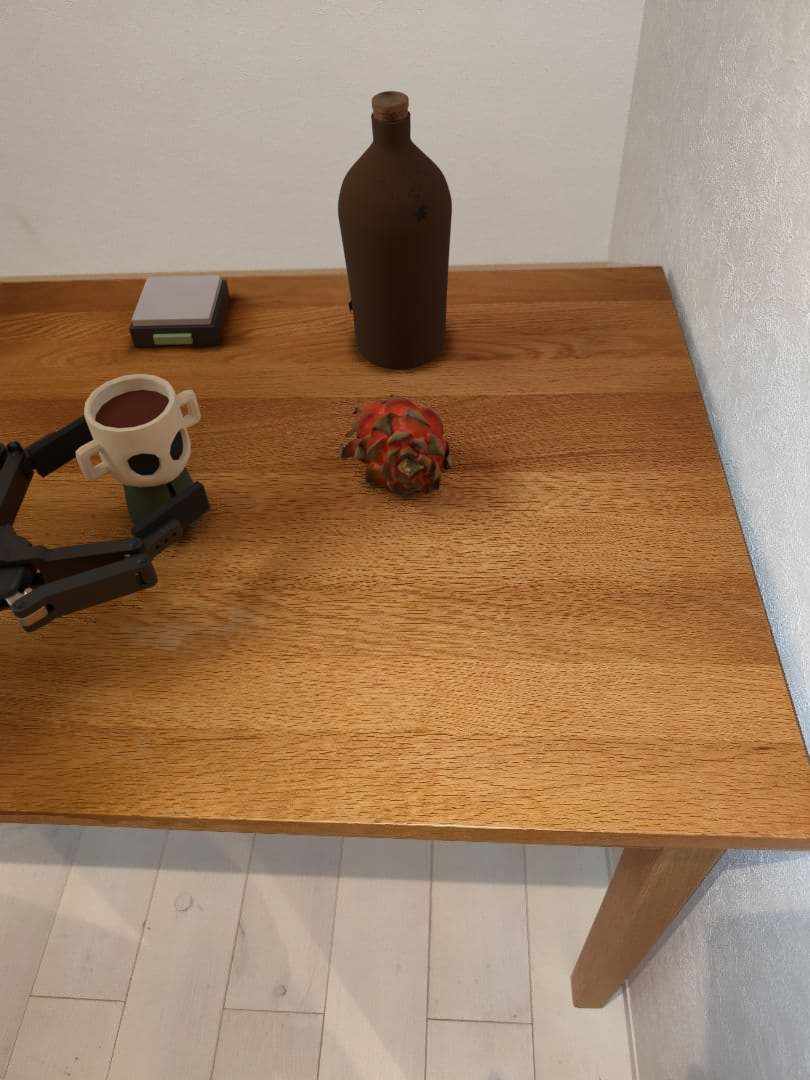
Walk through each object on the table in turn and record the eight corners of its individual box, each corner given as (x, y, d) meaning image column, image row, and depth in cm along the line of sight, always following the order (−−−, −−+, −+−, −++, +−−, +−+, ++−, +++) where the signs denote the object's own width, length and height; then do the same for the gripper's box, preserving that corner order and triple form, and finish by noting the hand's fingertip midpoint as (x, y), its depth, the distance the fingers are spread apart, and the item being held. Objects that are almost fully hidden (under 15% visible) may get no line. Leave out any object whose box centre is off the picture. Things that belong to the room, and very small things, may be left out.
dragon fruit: (433, 534, 78) (364, 471, 86) (493, 457, 77) (419, 401, 85) (373, 496, 72) (306, 432, 80) (438, 412, 71) (363, 356, 79)
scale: (133, 350, 95) (125, 325, 93) (151, 299, 101) (144, 274, 99) (217, 349, 95) (211, 323, 92) (230, 298, 101) (225, 272, 99)
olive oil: (468, 329, 95) (474, 85, 77) (420, 385, 89) (413, 135, 71) (383, 303, 99) (368, 65, 80) (331, 355, 93) (303, 110, 75)
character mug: (137, 572, 74) (90, 458, 65) (93, 528, 78) (43, 413, 68) (242, 505, 79) (214, 389, 69) (197, 466, 83) (164, 351, 73)
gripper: (-147, 566, 71) (75, 428, 82) (28, 746, 60) (260, 560, 70) (-198, 500, 66) (47, 362, 76) (-15, 686, 54) (244, 493, 65)
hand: (150, 457), depth 73 cm, fingers open, 13 cm apart
